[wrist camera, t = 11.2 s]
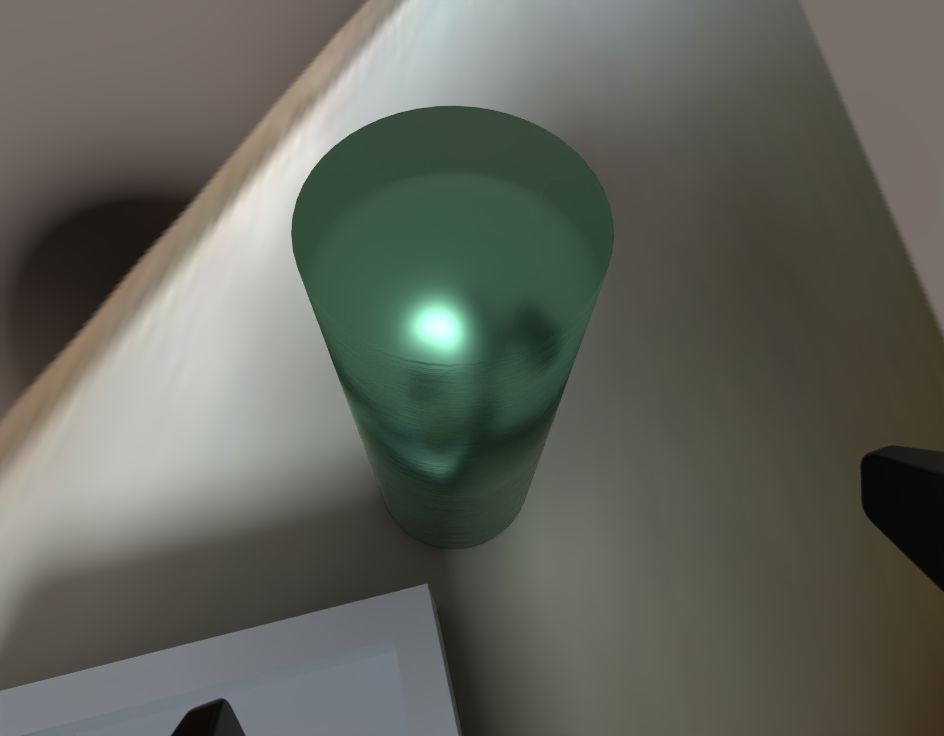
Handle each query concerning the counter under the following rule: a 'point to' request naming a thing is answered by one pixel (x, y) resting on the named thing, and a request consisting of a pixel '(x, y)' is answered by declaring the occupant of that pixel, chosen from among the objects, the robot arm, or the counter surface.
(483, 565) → the counter surface
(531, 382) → the green tall cylinder
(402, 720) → the grey tote
